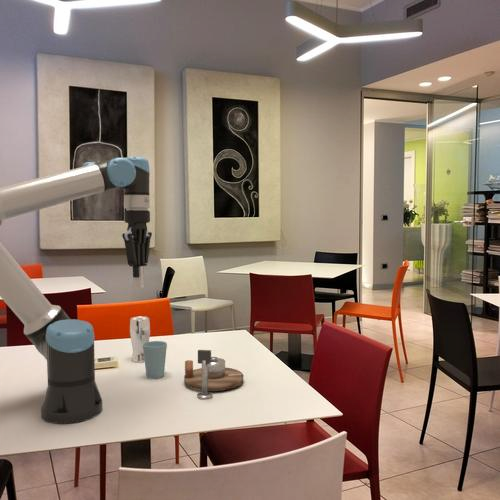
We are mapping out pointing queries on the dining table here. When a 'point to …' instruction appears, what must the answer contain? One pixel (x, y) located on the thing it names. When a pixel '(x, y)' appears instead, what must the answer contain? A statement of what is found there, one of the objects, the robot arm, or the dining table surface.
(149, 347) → the cup
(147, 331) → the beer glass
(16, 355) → the dining table surface
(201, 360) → the indicator post
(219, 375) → the cover
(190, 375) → the turntable
